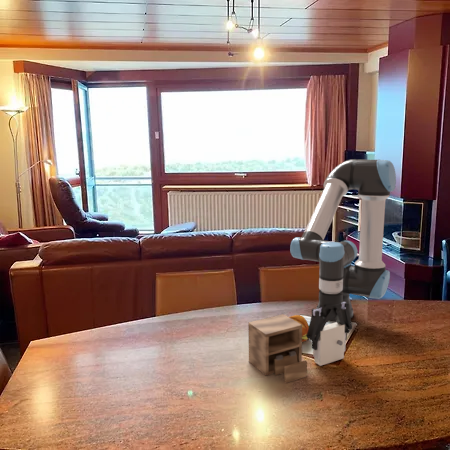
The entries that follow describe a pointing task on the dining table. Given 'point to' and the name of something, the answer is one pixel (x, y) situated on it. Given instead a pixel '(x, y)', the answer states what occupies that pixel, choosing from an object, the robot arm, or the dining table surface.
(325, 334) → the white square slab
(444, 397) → the dining table surface
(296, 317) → the cheeseburger
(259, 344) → the cabinet
